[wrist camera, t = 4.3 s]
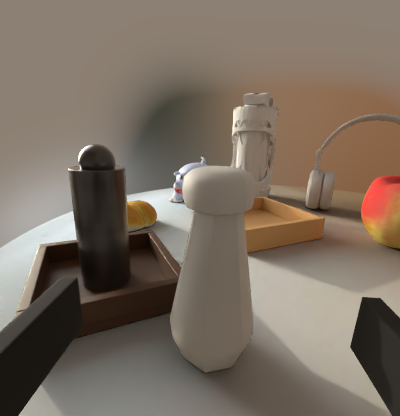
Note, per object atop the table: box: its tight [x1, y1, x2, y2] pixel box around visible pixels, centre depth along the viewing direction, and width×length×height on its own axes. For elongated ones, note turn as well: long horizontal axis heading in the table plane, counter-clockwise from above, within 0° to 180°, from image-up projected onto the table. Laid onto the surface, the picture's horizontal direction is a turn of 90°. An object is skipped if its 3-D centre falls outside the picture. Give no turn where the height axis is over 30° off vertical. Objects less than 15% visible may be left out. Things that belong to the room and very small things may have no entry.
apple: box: [361, 175, 400, 249], centre depth 36 cm, size 10×10×10 cm
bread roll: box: [127, 200, 157, 232], centre depth 42 cm, size 8×9×4 cm
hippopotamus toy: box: [169, 157, 208, 202], centre depth 56 cm, size 11×15×10 cm
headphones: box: [306, 114, 400, 209], centre depth 49 cm, size 20×8×19 cm, turn 64°
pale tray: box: [244, 196, 325, 253], centre depth 42 cm, size 15×15×3 cm
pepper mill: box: [68, 144, 131, 291], centre depth 23 cm, size 5×5×13 cm
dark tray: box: [13, 230, 181, 338], centre depth 25 cm, size 13×13×3 cm
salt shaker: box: [170, 166, 255, 373], centre depth 16 cm, size 6×6×13 cm
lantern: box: [231, 93, 279, 198], centre depth 63 cm, size 13×10×25 cm
